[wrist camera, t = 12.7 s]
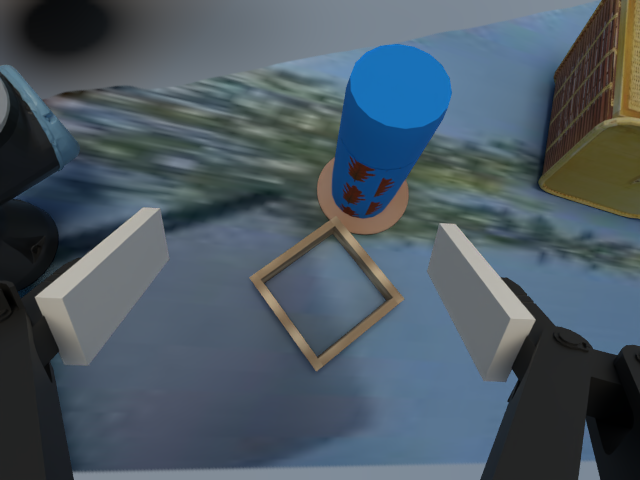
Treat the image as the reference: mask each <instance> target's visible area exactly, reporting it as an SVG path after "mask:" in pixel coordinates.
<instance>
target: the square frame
mask: <svg viewBox="0 0 640 480" xmlns="http://www.w3.org/2000/svg"><path fill="white" fill-rule="evenodd" d="M332 234H334V236H335V237H336V238H337V239H338V241H339V242H340V243H341V244H342V246H343V247H344V248H345V249H346V251H347V252H348V253H349V254H350V256H351V257H352V258H353V259H354V261H355V262H356V263H357V264H358V265H359V267H360V268H361V269H362V270H363V272H364V273H365V274H366V275H367V277H368V278H369V279H370V280H371V282H372V283H373V284H374V285H375V287H376V288H377V289H378V290H379V292H380V293H381V294H382V295H383V296H384V298H385V299H386V300H387V301H386V302H384V303H383V304H382V305H381V306H379V307H378V308H377V309H376V310H375V311H373V312H372V313H371V314H370V315H368V316H367V317H366V318H365V319H363V320H362V321H361V322H360V323H359V324H357V325H356V326H355V327H354V328H352V329H351V330H350V331H349V332H348V333H346V334H345V335H344V336H343V337H341V338H340V339H339V340H338V341H336V342H335V343H334V344H333V345H332V346H330V347H329V348H328V349H327V350H325V351H324V352H323V353H322V354H320V355H319V356H318V357H317V356H316V355H315V354H314V352H313V351H312V349H311V348H310V347H309V345H308V344H307V342H306V341H305V340H304V338H303V337H302V336H301V334H300V333H299V331H298V330H297V329H296V327H295V326H294V324H293V323H292V322H291V320H290V319H289V318H288V316H287V315H286V313H285V312H284V311H283V309H282V308H281V306H280V305H279V304H278V302H277V301H276V299H275V298H274V297H273V295H272V294H271V293H270V291H269V290H268V288H267V287H266V286H265V284H264V283H265V282H267V281H268V280H270V279H271V278H272V277H274V276H275V275H276V274H278V273H279V272H281V271H282V270H283V269H285V268H286V267H288V266H289V265H290V264H292V263H293V262H294V261H296V260H297V259H299V258H300V257H301V256H303V255H304V254H305V253H307V252H308V251H310V250H311V249H312V248H314V247H315V246H316V245H318V244H319V243H321V242H322V241H323V240H325V239H326V238H328V237H329V236H330V235H332ZM249 278H250V279H251V281H252V282H253V283H254V285H255V286H256V288H257V289H258V290H259V292H260V293H261V295H262V296H263V297H264V299H265V300H266V302H267V303H268V304H269V306H270V307H271V309H272V310H273V311H274V313H275V314H276V316H277V317H278V318H279V320H280V321H281V323H282V324H283V325H284V327H285V328H286V330H287V331H288V332H289V334H290V335H291V337H292V338H293V339H294V341H295V342H296V344H297V345H298V346H299V348H300V349H301V351H302V352H303V353H304V355H305V356H306V358H307V359H308V360H309V362H310V363H311V365H312V366H313V367H314V369H315V370H316V372H317V371H318V370H319V369H320V368H321V367H323V366H324V365H325V364H326V363H328V362H329V361H330V360H331V359H332V358H334V357H335V356H336V355H337V354H338V353H340V352H341V351H342V350H343V349H345V348H346V347H347V346H348V345H349V344H351V343H352V342H353V341H354V340H355V339H357V338H358V337H359V336H360V335H362V334H363V333H364V332H365V331H366V330H368V329H369V328H370V327H371V326H372V325H374V324H375V323H376V322H377V321H379V320H380V319H381V318H382V317H383V316H385V315H386V314H387V313H388V312H389V311H391V310H392V309H393V308H394V307H396V306H397V305H398V304H399V303H400V302H402V301H403V300H404V298H403V297H402V295H401V294H400V293H399V292H398V291H397V289H396V288H395V287H394V286H393V284H392V283H391V282H390V281H389V280H388V278H387V277H386V276H385V275H384V274H383V272H382V271H381V270H380V269H379V267H378V266H377V265H376V264H375V263H374V261H373V260H372V259H371V258H370V256H369V255H368V254H367V253H366V252H365V250H364V249H363V248H362V247H361V246H360V244H359V243H358V242H357V241H356V239H355V238H354V237H353V236H352V235H351V233H350V232H349V231H348V230H347V228H346V227H345V226H344V225H343V224H342V222H341V221H340V220H339V219H338V217H337V216H335V217H334V218H332V219H331V220H330V221H328V222H327V223H325V224H324V225H323V226H321V227H320V228H318V229H317V230H316V231H314V232H313V233H311V234H310V235H308V236H307V237H306V238H304V239H303V240H301V241H300V242H299V243H297V244H296V245H294V246H293V247H292V248H290V249H289V250H287V251H286V252H285V253H283V254H282V255H280V256H279V257H278V258H276V259H275V260H273V261H272V262H271V263H269V264H268V265H266V266H265V267H264V268H262V269H261V270H259V271H258V272H257V273H255V274H254V275H252V276H251V277H249Z"/></svg>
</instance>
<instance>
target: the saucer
mask: <svg viewBox="0 0 640 480" xmlns="http://www.w3.org/2000/svg"><path fill="white" fill-rule="evenodd" d="M334 161H335V157H334V158H333V159H332V160H330V161H329V162H328V163H327V164H326V166H325V167H324V168H323V170H322V172H321V174H320V176H319V180H318V185H317V197H318V201H319V204H320V207H321V209H322V211H323V213H324V214H325V215H326V217H327V218H328V219H329V220H331V219H332V218H334V217H335V216H337V217H338V219H339V220H340V221H341V222H342V224H343V225H344V226H345V227H346V228H347V230H348V231H349V232H350V233H354V234H359V235H371V234H376V233H380V232H382V231H385V230H387V229H388V228H390V227H391V226H393V225H394V224H395V223H396V222H397V221H398V220H399V219H400V218H401V216H402V215H403V213H404V211H405V209H406V206H407V203H408V197H409V195H408V185H407V182H406V179H405V181H404V182H403V184H402V185H401V187H400V189H399V190H398V192H397V193H396V195H395V197H394V198H393V199H392V200H391V202H390V203H389V204H388V205H387V207H386V208H385V209H384V210H383V211H382V212H381V213H379V214H378V215H376V216H374V217H370V218H364V219H362V218H356V217H351V216H350V215H348V214H346V213H344V212H342V210H341V209H340V208H339V207H338V206H337V205H336V204H335V201H334V199H333V196H332V173H333V167H334Z"/></svg>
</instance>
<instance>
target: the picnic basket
mask: <svg viewBox="0 0 640 480" xmlns="http://www.w3.org/2000/svg"><path fill="white" fill-rule="evenodd" d="M554 82H555V91H554V98H553V105H552V112H551V119H550V126H549V132H548V139H547V146H546V153H545V160H544V167H543V174H542V176H541V178H540V179H539V181H538V183H539V186H540V188H541V189H543V190H544V191H545V192H548V193H550V194H553V195H556V196H559V197H562V198H565V199H569V200H572V201H575V202H578V203H582V204H585V205H588V206H591V207H594V208H598V209H601V210H604V211H607V212H611V213H614V214H617V215H620V216H625V217H629V218H637V219H640V0H602V1H601V2H600V4H599V5H598V7H597V8H596V10H595V11H594V13H593V15H592V16H591V18H590V19H589V21H588V22H587V24H586V25H585V27H584V28H583V30H582V32H581V33H580V35H579V36H578V38H577V39H576V41H575V42H574V44H573V45H572V47H571V49H570V50H569V52H568V53H567V55H566V56H565V58H564V59H563V61H562V63H561V64H560V66H559V67H558V69H557V70H556V72H555V75H554Z"/></svg>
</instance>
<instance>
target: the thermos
mask: <svg viewBox="0 0 640 480" xmlns="http://www.w3.org/2000/svg"><path fill="white" fill-rule="evenodd" d="M451 94H452V91H451V84H450V78H449V76H448V75H447V73H446V71H445V70H444V68H443V66H442V65H441V64H440V63H439V62H438V61H437V60H436V59H434V58H433V57H432V56H431V55H430V54H428V53H426V52H424V51H422V50H420V49H417V48H415V47H412V46H406V45H400V44H393V45H384V46H379V47H377V48H375V49H373V50H370V51H368V52H366V53H365V54H364V55H363V56H362V57H361V58H360V59H359V60H358V61H357V62H356V63H355V66H354V68H353V71H352V73H351V76H350V78H349V81H348V84H347V87H346V93H345V99H344V105H343V111H342V117H341V124H340V130H339V136H338V142H337V148H336V154H335V161H334V167H333V173H332V196H333V199H334V201H335V204H336V205H337V206H338V207H339V208H340V209H341V210H342V212H344V213H346V214H348V215H350V216H351V217H356V218H362V219H364V218H370V217H374V216H376V215H378V214H379V213H381V212H382V211H383V210H384V209H385V208H386V207H387V205H388V204H389V203H390V202H391V200H392V199H393V198H394V197H395V195H396V193H397V192H398V190H399V189H400V187H401V185H402V184H403V182H404V181H405V179H406V177H407V176H408V174H409V173H410V171H411V169H412V168H413V166H414V165H415V163H416V161H417V160H418V158H419V157H420V155H421V153H422V152H423V150H424V149H425V147H426V145H427V144H428V142H429V141H430V139H431V137H432V136H433V134H434V133H435V131H436V129H437V128H438V126H439V125H440V123H441V121H442V120H443V118H444V115H445V113H446V110H447V108H448V105H449V101H450V98H451Z"/></svg>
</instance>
